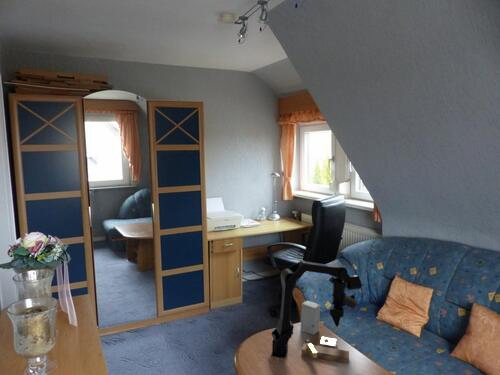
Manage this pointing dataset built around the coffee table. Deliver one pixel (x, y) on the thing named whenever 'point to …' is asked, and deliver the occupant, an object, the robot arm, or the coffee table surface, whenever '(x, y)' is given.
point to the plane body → (327, 354)
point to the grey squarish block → (328, 342)
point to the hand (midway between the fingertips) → (338, 321)
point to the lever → (311, 348)
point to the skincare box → (310, 317)
